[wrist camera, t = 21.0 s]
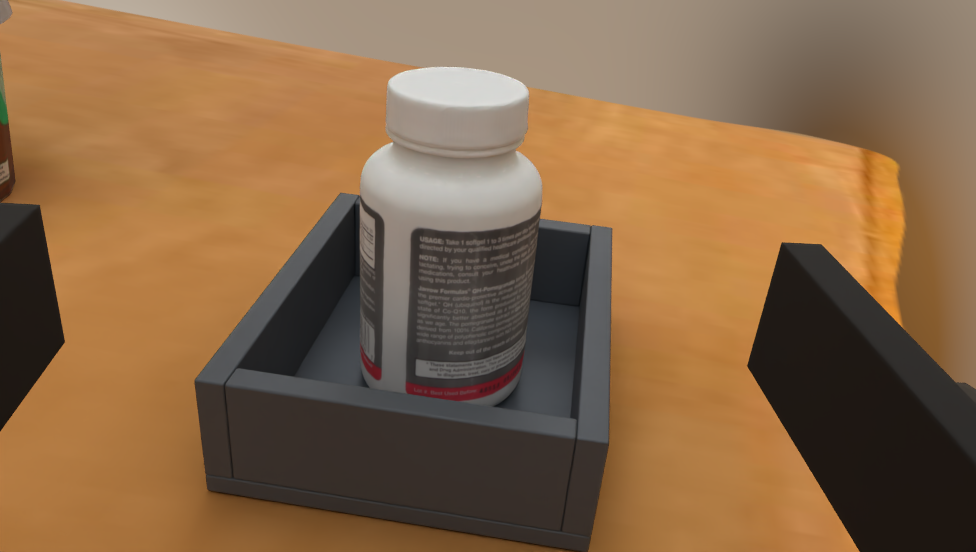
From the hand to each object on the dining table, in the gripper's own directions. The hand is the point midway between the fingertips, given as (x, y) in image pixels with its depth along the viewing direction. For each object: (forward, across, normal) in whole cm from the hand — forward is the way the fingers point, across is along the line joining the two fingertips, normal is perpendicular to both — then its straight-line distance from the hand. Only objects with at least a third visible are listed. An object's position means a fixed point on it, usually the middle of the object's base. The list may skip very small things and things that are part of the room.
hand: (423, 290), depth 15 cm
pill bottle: (+10, +1, -9) cm, 13 cm away
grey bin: (+10, +1, -9) cm, 13 cm away
